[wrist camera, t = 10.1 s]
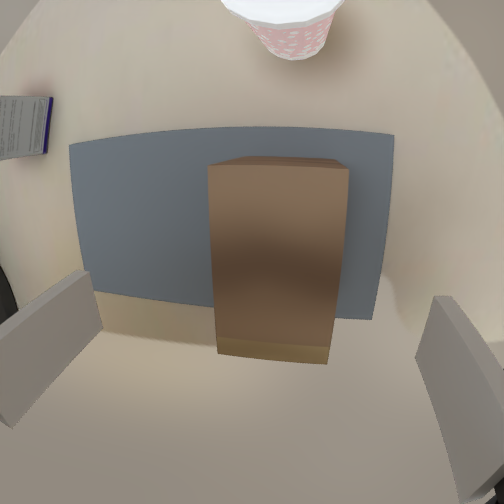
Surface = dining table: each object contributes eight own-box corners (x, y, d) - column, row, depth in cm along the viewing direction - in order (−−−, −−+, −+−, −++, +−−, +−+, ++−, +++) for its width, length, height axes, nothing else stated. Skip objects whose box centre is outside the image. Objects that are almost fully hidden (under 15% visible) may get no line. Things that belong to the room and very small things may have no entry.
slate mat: (91, 287, 28) (88, 289, 27) (72, 144, 23) (69, 144, 22) (370, 316, 23) (371, 319, 23) (392, 135, 18) (394, 135, 18)
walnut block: (245, 156, 20) (207, 165, 13) (334, 159, 19) (349, 169, 12) (246, 289, 24) (217, 353, 16) (324, 295, 23) (327, 364, 15)
